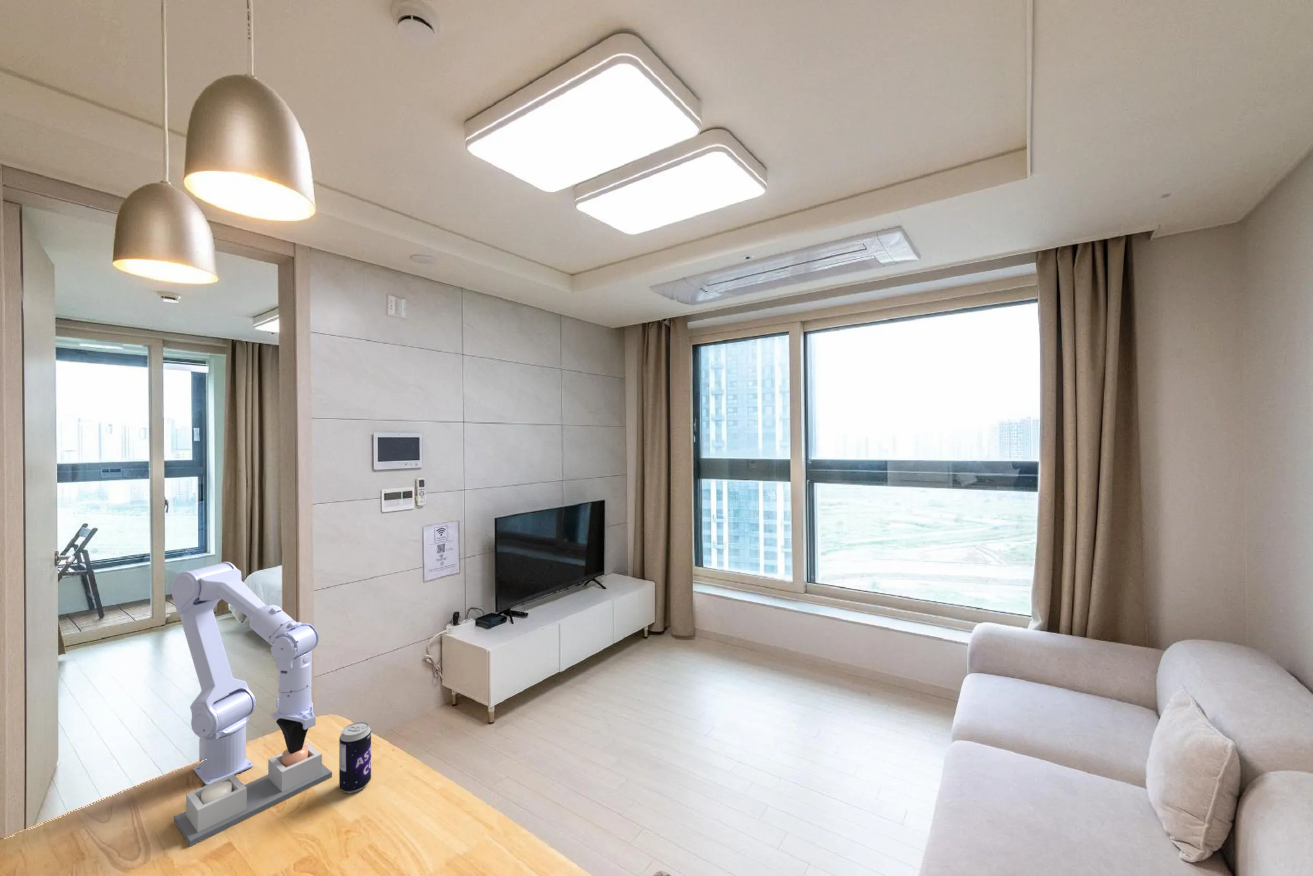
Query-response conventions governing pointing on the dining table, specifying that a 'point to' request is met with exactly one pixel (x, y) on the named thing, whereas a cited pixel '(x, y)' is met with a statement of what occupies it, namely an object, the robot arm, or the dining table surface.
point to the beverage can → (354, 757)
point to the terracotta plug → (294, 756)
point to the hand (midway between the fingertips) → (295, 750)
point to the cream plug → (215, 791)
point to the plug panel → (249, 796)
